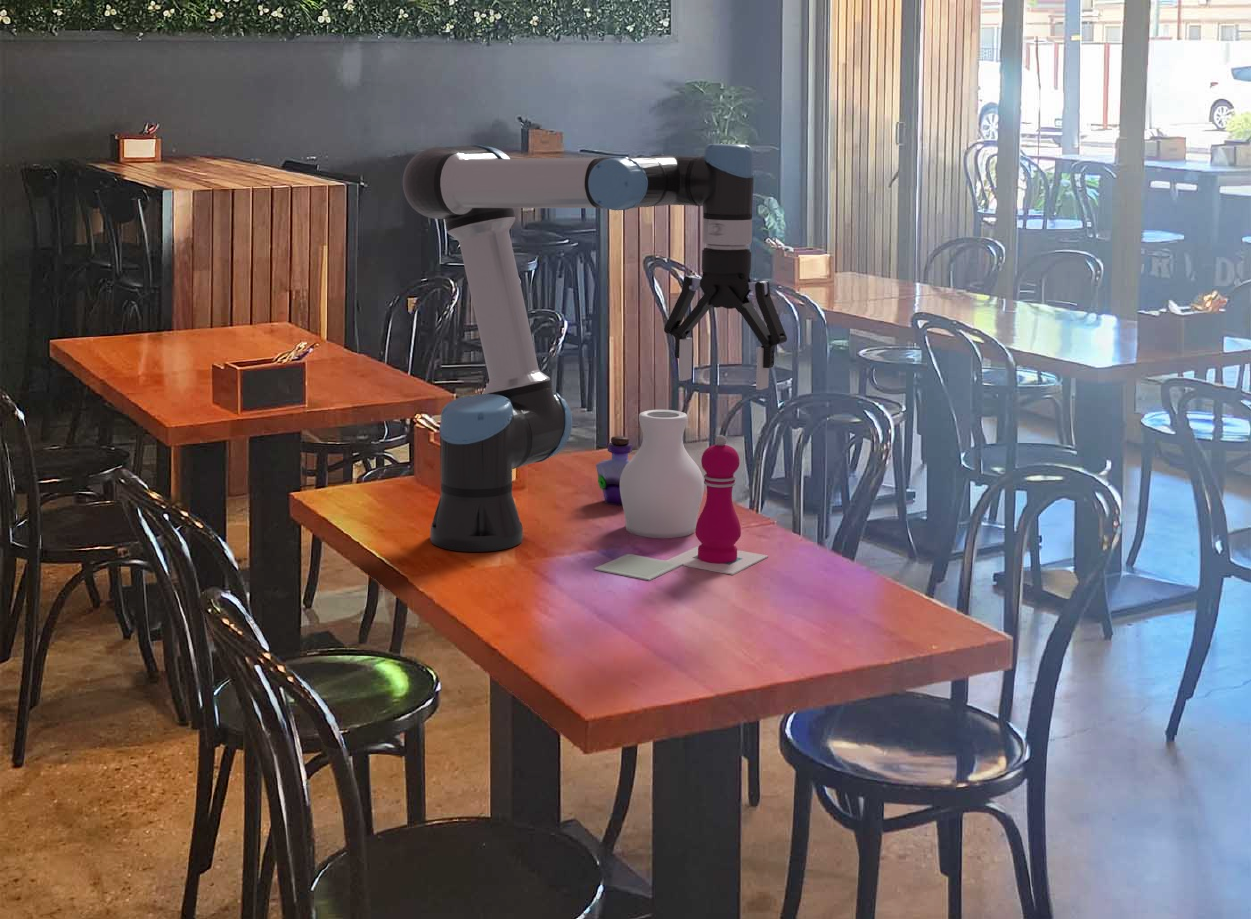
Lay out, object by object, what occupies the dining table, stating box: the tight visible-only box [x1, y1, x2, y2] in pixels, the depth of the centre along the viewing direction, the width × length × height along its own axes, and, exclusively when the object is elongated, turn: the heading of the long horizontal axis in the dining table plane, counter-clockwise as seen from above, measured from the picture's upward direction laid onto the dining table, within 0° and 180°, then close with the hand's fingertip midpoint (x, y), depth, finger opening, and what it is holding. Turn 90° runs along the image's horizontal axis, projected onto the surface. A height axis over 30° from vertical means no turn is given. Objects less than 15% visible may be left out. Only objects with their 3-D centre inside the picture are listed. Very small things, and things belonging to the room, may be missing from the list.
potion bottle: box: [595, 435, 633, 506], centre depth 291 cm, size 9×9×12 cm
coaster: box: [593, 553, 683, 582], centre depth 252 cm, size 10×10×1 cm
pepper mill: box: [694, 434, 742, 563], centre depth 255 cm, size 7×7×20 cm
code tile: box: [665, 545, 769, 576], centre depth 257 cm, size 12×12×1 cm
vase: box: [620, 409, 705, 539], centre depth 272 cm, size 14×14×20 cm
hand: (723, 384), depth 251 cm, fingers open, 13 cm apart
